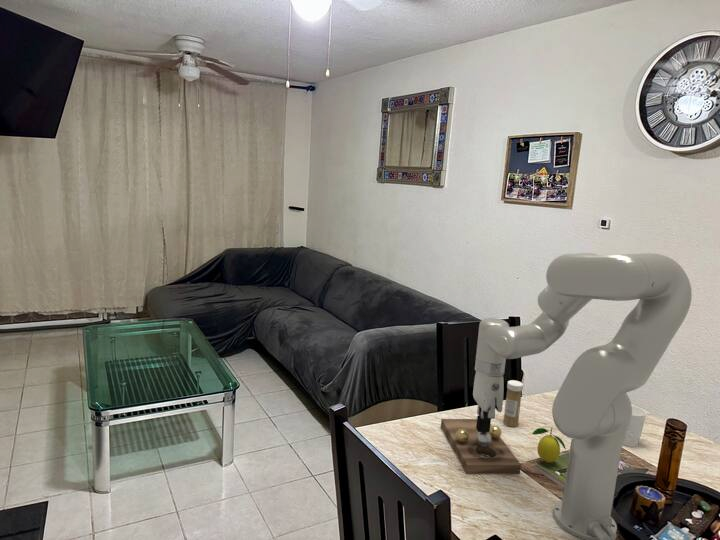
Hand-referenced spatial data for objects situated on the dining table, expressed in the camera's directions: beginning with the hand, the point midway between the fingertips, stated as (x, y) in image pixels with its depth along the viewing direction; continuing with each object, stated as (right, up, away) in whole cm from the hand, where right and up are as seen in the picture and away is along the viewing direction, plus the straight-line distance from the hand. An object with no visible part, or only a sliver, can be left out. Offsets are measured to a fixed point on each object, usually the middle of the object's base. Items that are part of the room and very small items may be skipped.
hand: (482, 430), depth 130 cm
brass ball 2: (+4, -2, +4) cm, 7 cm away
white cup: (+45, -8, +13) cm, 47 cm away
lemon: (+16, -8, -1) cm, 18 cm away
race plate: (-1, -6, +4) cm, 7 cm away
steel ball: (0, -2, 0) cm, 2 cm away
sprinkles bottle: (+13, -4, +19) cm, 24 cm away
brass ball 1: (-5, -2, +1) cm, 6 cm away
